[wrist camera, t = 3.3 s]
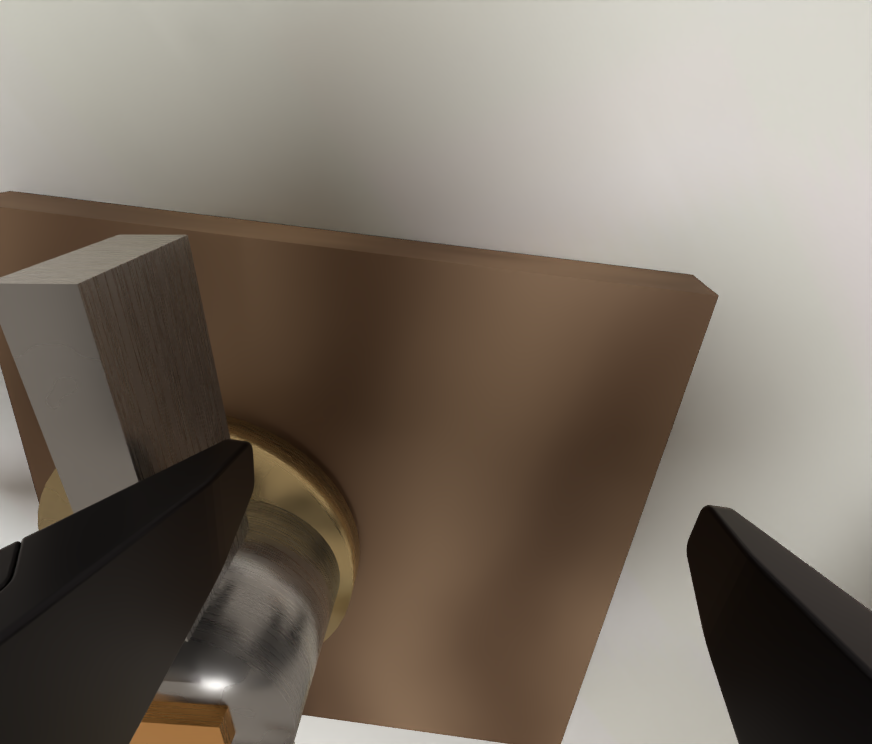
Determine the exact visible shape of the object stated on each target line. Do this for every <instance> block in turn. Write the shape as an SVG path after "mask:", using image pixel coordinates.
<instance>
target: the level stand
mask: <svg viewBox="0 0 872 744" xmlns="http://www.w3.org/2000/svg"><path fill="white" fill-rule="evenodd" d="M116 235H188V239H189V243H190V248H191V253H192V258H193V262H194V267H195V272H196V277H197V281H198V286H199V291H200V296H201V300H202V305H203V310H204V315H205V319H206V324H207V329H208V334H209V338H210V343H211V348H212V353H213V357H214V362H215V367H216V372H217V376H218V381H219V386H220V391H221V395H222V400H223V405H224V410H225V414H226V415H228V416H231V417H234V418H237V419H241V420H244V421H247V422H249V423H251V424H254V425H256V426H258V427H261V428H263V429H265V430H267V431H269V432H271V433H273V434H275V435H276V436H278V437H280V438H282V439H284V440H285V441H287V442H288V443H290V444H291V445H293V446H294V447H295V448H297V449H298V450H300V451H301V452H303V453H304V454H305V455H306V456H307V457H308V458H310V459H311V460H312V461H313V462H314V463H315V464H316V465H318V466H319V467H320V468H321V470H322V471H323V472H324V473H325V474H326V475H327V476H328V477H329V478H330V479H331V481H332V482H333V483H334V485H335V486H336V487H337V489H338V490H339V492H340V493H341V495H342V496H343V497H344V499H345V501H346V503H347V505H348V507H349V509H350V511H351V513H352V516H353V519H354V522H355V524H356V527H357V532H358V537H359V543H360V560H359V566H358V572H357V576H356V580H355V584H354V587H353V591H352V595H351V599H350V603H349V605H348V608H347V611H346V613H345V616H344V618H343V619H342V621H341V623H340V624H339V626H338V628H337V629H336V630H335V631H334V632H333V633H332V635H331V636H330V637H329V638H328V639H327V640H325V641H324V642H323V644H322V648H321V651H320V655H319V658H318V661H317V665H316V668H315V672H314V675H313V678H312V682H311V685H310V689H309V692H308V696H307V699H306V702H305V706H304V709H303V713H302V715H308V716H315V717H322V718H329V719H336V720H343V721H350V722H358V723H365V724H372V725H379V726H386V727H393V728H400V729H407V730H415V731H422V732H429V733H436V734H443V735H450V736H457V737H464V738H472V739H479V740H486V741H493V742H500V743H507V744H561V742H562V739H563V736H564V733H565V730H566V727H567V725H568V722H569V719H570V716H571V713H572V710H573V708H574V705H575V702H576V699H577V696H578V693H579V691H580V688H581V685H582V682H583V679H584V676H585V674H586V671H587V668H588V665H589V662H590V659H591V657H592V654H593V651H594V648H595V645H596V642H597V639H598V637H599V634H600V631H601V628H602V625H603V622H604V620H605V617H606V614H607V611H608V608H609V605H610V603H611V600H612V597H613V594H614V591H615V588H616V586H617V583H618V580H619V577H620V574H621V571H622V568H623V566H624V563H625V560H626V557H627V554H628V551H629V549H630V546H631V543H632V540H633V537H634V534H635V532H636V529H637V526H638V523H639V520H640V517H641V515H642V512H643V509H644V506H645V503H646V500H647V497H648V495H649V492H650V489H651V486H652V483H653V480H654V478H655V475H656V472H657V469H658V466H659V463H660V461H661V458H662V455H663V452H664V449H665V446H666V444H667V441H668V438H669V435H670V432H671V429H672V426H673V424H674V421H675V418H676V415H677V412H678V409H679V407H680V404H681V401H682V398H683V395H684V392H685V390H686V387H687V384H688V381H689V378H690V375H691V373H692V370H693V367H694V364H695V361H696V358H697V355H698V353H699V350H700V347H701V344H702V341H703V338H704V336H705V333H706V330H707V327H708V324H709V321H710V319H711V316H712V313H713V310H714V307H715V304H716V302H717V299H718V295H717V294H716V293H715V292H713V291H712V290H711V289H710V288H708V287H707V286H706V285H705V284H703V283H702V282H701V281H700V280H698V279H697V278H696V277H695V276H694V275H688V274H680V273H672V272H664V271H656V270H648V269H640V268H631V267H623V266H615V265H607V264H599V263H591V262H583V261H574V260H566V259H558V258H550V257H542V256H534V255H526V254H517V253H509V252H501V251H493V250H485V249H477V248H469V247H461V246H452V245H444V244H436V243H428V242H420V241H412V240H404V239H395V238H387V237H379V236H371V235H363V234H355V233H347V232H338V231H330V230H322V229H314V228H306V227H298V226H290V225H282V224H273V223H265V222H257V221H249V220H241V219H233V218H225V217H216V216H208V215H200V214H192V213H184V212H176V211H168V210H159V209H151V208H143V207H135V206H127V205H119V204H111V203H103V202H94V201H86V200H78V199H70V198H62V197H54V196H46V195H37V194H29V193H21V192H13V191H8V192H2V193H0V277H3V276H6V275H9V274H11V273H14V272H17V271H20V270H22V269H25V268H28V267H31V266H33V265H36V264H39V263H42V262H45V261H47V260H50V259H53V258H56V257H58V256H61V255H64V254H67V253H69V252H72V251H75V250H78V249H81V248H83V247H86V246H89V245H92V244H94V243H97V242H100V241H103V240H105V239H108V238H111V237H114V236H116ZM0 365H1V369H2V372H3V376H4V380H5V383H6V387H7V390H8V394H9V397H10V401H11V405H12V408H13V412H14V415H15V419H16V422H17V426H18V430H19V433H20V437H21V440H22V444H23V447H24V451H25V455H26V458H27V462H28V465H29V469H30V472H31V476H32V480H33V483H34V487H35V490H36V494H37V498H38V501H39V503H40V498H41V495H42V492H43V490H44V487H45V484H46V482H47V481H48V479H49V478H50V476H51V475H52V473H53V472H54V470H55V469H56V467H55V464H54V462H53V459H52V456H51V454H50V451H49V449H48V446H47V443H46V441H45V438H44V436H43V433H42V431H41V428H40V425H39V423H38V420H37V418H36V415H35V413H34V410H33V407H32V405H31V402H30V400H29V397H28V394H27V392H26V389H25V387H24V384H23V382H22V379H21V376H20V374H19V371H18V369H17V366H16V364H15V361H14V358H13V356H12V353H11V351H10V348H9V345H8V343H7V340H6V338H5V335H4V333H3V330H2V327H1V325H0Z"/></svg>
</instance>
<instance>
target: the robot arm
mask: <svg viewBox="0 0 872 744" xmlns="http://www.w3.org/2000/svg"><path fill="white" fill-rule="evenodd" d="M254 483H255V478H254V459H253V448H252V445H251V444H250V443H249V442H248V441H241V440H234V439H226V440H223V441H221V442H219V443H217V444H215V445H213V446H211V447H209V448H207V449H205V450H203V451H201V452H198V453H196V454H194V455H192V456H190V457H188V458H186V459H184V460H182V461H180V462H178V463H176V464H174V465H172V466H170V467H168V468H166V469H164V470H162V471H160V472H158V473H156V474H154V475H152V476H149V477H147V478H145V479H143V480H141V481H139V482H137V483H135V484H133V485H131V486H129V487H127V488H125V489H123V490H121V491H119V492H117V493H115V494H113V495H111V496H109V497H107V498H105V499H103V500H100V501H98V502H96V503H94V504H92V505H90V506H88V507H86V508H84V509H82V510H80V511H78V512H76V513H74V514H72V515H70V516H68V517H66V518H64V519H62V520H60V521H57V522H55V523H53V524H51V525H49V526H47V527H45V528H43V529H41V530H39V531H37V532H35V533H33V534H31V535H29V536H27V537H25V538H23V539H22V541H21V543H20V542H14V543H12V544H10V545H8V546H6V547H4V548H2V549H0V744H130V742H131V740H132V738H133V736H134V734H135V732H136V730H137V729H138V727H139V725H140V723H141V721H142V719H143V717H144V716H145V714H146V712H147V710H148V708H149V706H150V704H151V703H152V701H153V699H154V697H155V695H156V693H157V691H158V689H159V688H160V686H161V684H162V682H163V680H164V678H165V676H166V675H167V673H168V671H169V669H170V667H171V665H172V663H173V661H174V660H175V658H176V656H177V654H178V652H179V650H180V648H181V647H182V645H183V643H184V641H185V639H186V637H187V635H188V634H189V632H190V630H191V628H192V626H193V624H194V622H195V620H196V619H197V617H198V615H199V613H200V611H201V609H202V607H203V606H204V604H205V602H206V600H207V598H208V596H209V594H210V592H211V591H212V589H213V587H214V585H215V583H216V581H217V579H218V577H219V575H220V573H221V571H222V568H223V566H224V564H225V561H226V559H227V557H228V554H229V552H230V549H231V546H232V544H233V541H234V539H235V536H236V534H237V531H238V529H239V526H240V524H241V521H242V519H243V516H244V514H245V511H246V509H247V506H248V504H249V501H250V499H251V496H252V493H253V490H254ZM687 558H688V563H689V568H690V572H691V577H692V582H693V586H694V591H695V596H696V601H697V605H698V610H699V615H700V619H701V624H702V629H703V633H704V637H705V641H706V645H707V648H708V651H709V654H710V658H711V661H712V664H713V667H714V670H715V673H716V676H717V679H718V682H719V685H720V688H721V691H722V694H723V697H724V700H725V703H726V706H727V709H728V713H729V716H730V719H731V722H732V725H733V728H734V731H735V734H736V737H737V740H738V743H739V744H872V611H870V610H869V609H868V608H866V607H865V606H864V605H862V604H861V603H860V602H858V601H857V600H855V599H854V598H853V597H851V596H850V595H849V594H847V593H846V592H845V591H843V590H842V589H840V588H839V587H838V586H836V585H835V584H834V583H832V582H831V581H830V580H828V579H827V578H826V577H824V576H823V575H821V574H820V573H819V572H817V571H816V570H815V569H813V568H812V567H811V566H809V565H808V564H807V563H805V562H804V561H802V560H801V559H800V558H798V557H797V556H796V555H794V554H793V553H792V552H790V551H789V550H788V549H786V548H785V547H783V546H782V545H781V544H779V543H778V542H777V541H775V540H774V539H773V538H771V537H770V536H768V535H767V534H766V533H764V532H763V531H762V530H760V529H759V528H758V527H756V526H755V525H754V524H752V523H751V522H749V521H748V520H747V519H745V518H744V517H743V516H741V515H740V514H739V513H737V512H736V511H735V510H733V509H731V508H727V507H720V506H712V505H707V506H705V507H703V508H702V510H701V511H700V513H699V516H698V518H697V521H696V523H695V525H694V528H693V530H692V532H691V535H690V537H689V540H688V543H687Z"/></svg>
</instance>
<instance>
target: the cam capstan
mask: <svg viewBox="0 0 872 744" xmlns="http://www.w3.org/2000/svg"><path fill="white" fill-rule="evenodd" d="M0 325H1V327H2V330H3V333H4V335H5V338H6V340H7V343H8V345H9V348H10V351H11V353H12V356H13V358H14V361H15V364H16V366H17V369H18V371H19V374H20V376H21V379H22V382H23V384H24V387H25V389H26V392H27V394H28V397H29V400H30V402H31V405H32V407H33V410H34V413H35V415H36V418H37V420H38V423H39V425H40V428H41V431H42V433H43V436H44V438H45V441H46V443H47V446H48V449H49V451H50V454H51V456H52V459H53V462H54V464H55V467H56V469H55V470H54V472H53V473H52V475H51V476H50V478H49V479H48V481H47V482H46V484H45V487H44V490H43V492H42V495H41V498H40V503H39V509H38V529H39V530H41V529H43V528H45V527H47V526H49V525H51V524H53V523H55V522H57V521H60V520H62V519H64V518H66V517H68V516H70V515H72V514H74V513H76V512H78V511H80V510H82V509H84V508H86V507H88V506H90V505H92V504H94V503H96V502H98V501H100V500H103V499H105V498H107V497H109V496H111V495H113V494H115V493H117V492H119V491H121V490H123V489H125V488H127V487H129V486H131V485H133V484H135V483H137V482H139V481H141V480H143V479H145V478H147V477H149V476H152V475H154V474H156V473H158V472H160V471H162V470H164V469H166V468H168V467H170V466H172V465H174V464H176V463H178V462H180V461H182V460H184V459H186V458H188V457H190V456H192V455H194V454H196V453H198V452H201V451H203V450H205V449H207V448H209V447H211V446H213V445H215V444H217V443H219V442H221V441H223V440H226V439H234V440H241V441H248V442H249V443H250V444H251V445H252V448H253V459H254V478H255V483H254V490H253V493H252V496H251V499H250V501H249V504H248V506H247V509H246V511H245V514H244V516H243V519H242V521H241V524H240V526H239V529H238V531H237V534H236V536H235V539H234V541H233V544H232V546H231V549H230V552H229V554H228V557H227V559H226V561H225V564H224V566H223V568H222V571H221V573H220V575H219V577H218V579H217V581H216V583H215V585H214V587H213V589H212V591H211V592H210V594H209V596H208V598H207V600H206V602H205V604H204V606H203V607H202V609H201V611H200V613H199V615H198V617H197V619H196V620H195V622H194V624H193V626H192V628H191V630H190V632H189V634H188V635H187V637H186V639H185V641H184V643H183V645H182V647H181V648H180V650H179V652H178V654H177V656H176V658H175V660H174V661H173V663H172V665H171V667H170V669H169V671H168V673H167V675H166V676H165V678H164V680H163V682H162V684H161V686H160V688H159V689H158V691H157V693H156V695H155V697H154V699H153V701H152V703H151V704H150V706H149V708H148V710H147V712H146V714H145V716H144V717H143V719H142V721H141V723H140V725H139V727H138V729H137V730H136V732H135V734H134V736H133V738H132V740H131V742H130V744H295V742H294V740H295V737H296V733H297V730H298V726H299V723H300V719H301V716H302V713H303V709H304V706H305V702H306V699H307V696H308V692H309V689H310V685H311V682H312V678H313V675H314V672H315V668H316V665H317V661H318V658H319V655H320V651H321V648H322V644H323V642H324V641H325V640H327V639H328V638H329V637H330V636H331V635H332V633H333V632H334V631H335V630H336V629H337V628H338V626H339V624H340V623H341V621H342V619H343V618H344V616H345V613H346V611H347V608H348V605H349V603H350V599H351V595H352V591H353V587H354V584H355V580H356V576H357V572H358V566H359V560H360V543H359V537H358V532H357V527H356V524H355V522H354V519H353V516H352V513H351V511H350V509H349V507H348V505H347V503H346V501H345V499H344V497H343V496H342V495H341V493H340V492H339V490H338V489H337V487H336V486H335V485H334V483H333V482H332V481H331V479H330V478H329V477H328V476H327V475H326V474H325V473H324V472H323V471H322V470H321V468H320V467H319V466H318V465H316V464H315V463H314V462H313V461H312V460H311V459H310V458H308V457H307V456H306V455H305V454H304V453H303V452H301V451H300V450H298V449H297V448H295V447H294V446H293V445H291V444H290V443H288V442H287V441H285V440H284V439H282V438H280V437H278V436H276V435H275V434H273V433H271V432H269V431H267V430H265V429H263V428H261V427H258V426H256V425H254V424H251V423H249V422H247V421H244V420H241V419H237V418H234V417H231V416H228V415H226V414H225V410H224V405H223V400H222V395H221V391H220V386H219V381H218V376H217V372H216V367H215V362H214V357H213V353H212V348H211V343H210V338H209V334H208V329H207V324H206V319H205V315H204V310H203V305H202V300H201V296H200V291H199V286H198V281H197V277H196V272H195V267H194V262H193V258H192V253H191V248H190V243H189V239H188V235H116V236H114V237H111V238H108V239H105V240H103V241H100V242H97V243H94V244H92V245H89V246H86V247H83V248H81V249H78V250H75V251H72V252H69V253H67V254H64V255H61V256H58V257H56V258H53V259H50V260H47V261H45V262H42V263H39V264H36V265H33V266H31V267H28V268H25V269H22V270H20V271H17V272H14V273H11V274H9V275H6V276H3V277H0Z"/></svg>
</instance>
